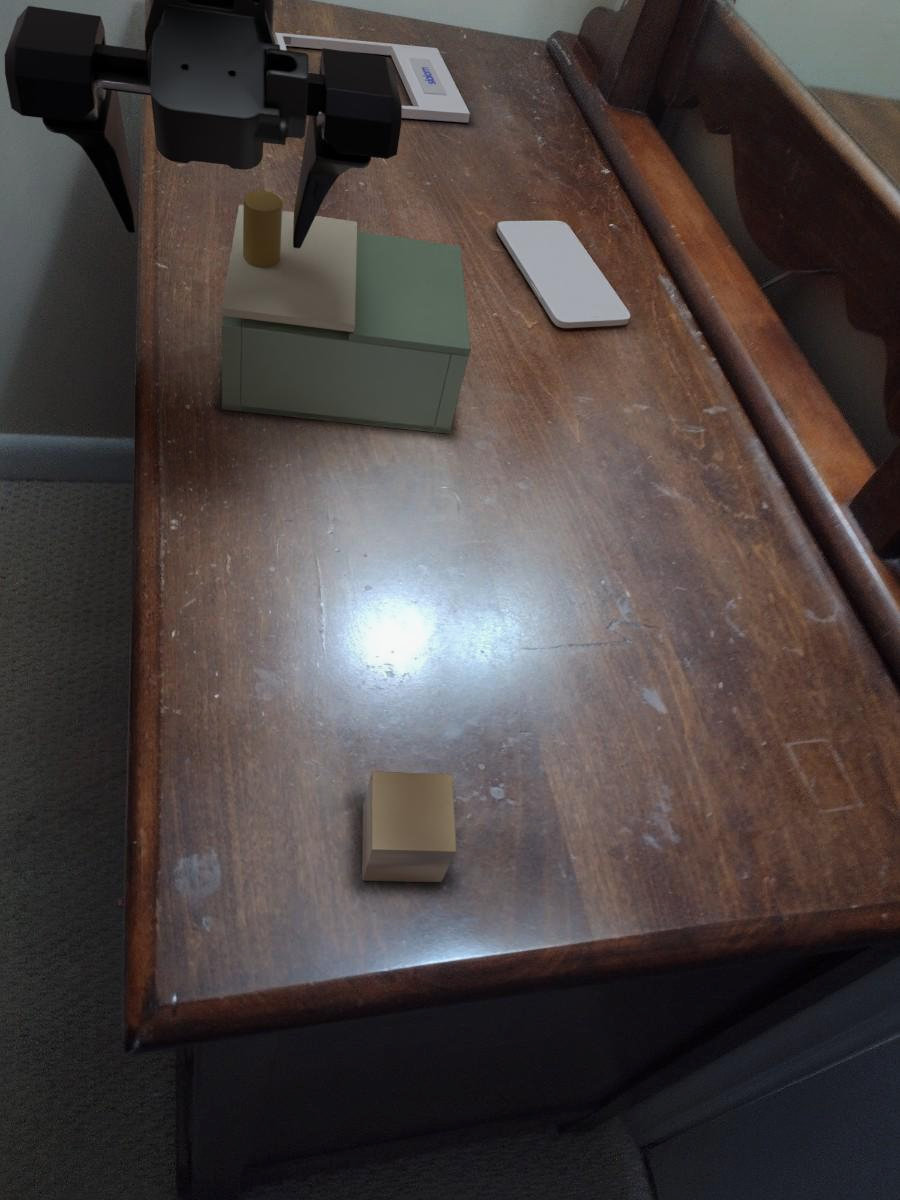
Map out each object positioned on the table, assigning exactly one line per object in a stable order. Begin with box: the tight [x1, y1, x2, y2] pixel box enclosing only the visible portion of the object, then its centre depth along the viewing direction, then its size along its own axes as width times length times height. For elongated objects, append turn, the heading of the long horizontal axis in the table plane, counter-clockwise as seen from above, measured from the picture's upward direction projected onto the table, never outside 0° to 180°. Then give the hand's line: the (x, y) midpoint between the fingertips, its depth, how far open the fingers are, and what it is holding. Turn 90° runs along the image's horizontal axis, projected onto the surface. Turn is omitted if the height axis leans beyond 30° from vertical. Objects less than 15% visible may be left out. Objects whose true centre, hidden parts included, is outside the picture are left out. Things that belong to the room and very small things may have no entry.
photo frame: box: [274, 32, 471, 123], centre depth 97 cm, size 15×1×18 cm
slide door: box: [221, 190, 358, 332], centre depth 60 cm, size 8×12×5 cm
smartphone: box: [496, 220, 631, 329], centre depth 81 cm, size 7×1×15 cm
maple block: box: [361, 770, 458, 883], centre depth 45 cm, size 4×4×4 cm
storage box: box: [221, 230, 472, 435], centre depth 66 cm, size 16×12×8 cm
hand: (216, 236), depth 53 cm, fingers open, 9 cm apart
